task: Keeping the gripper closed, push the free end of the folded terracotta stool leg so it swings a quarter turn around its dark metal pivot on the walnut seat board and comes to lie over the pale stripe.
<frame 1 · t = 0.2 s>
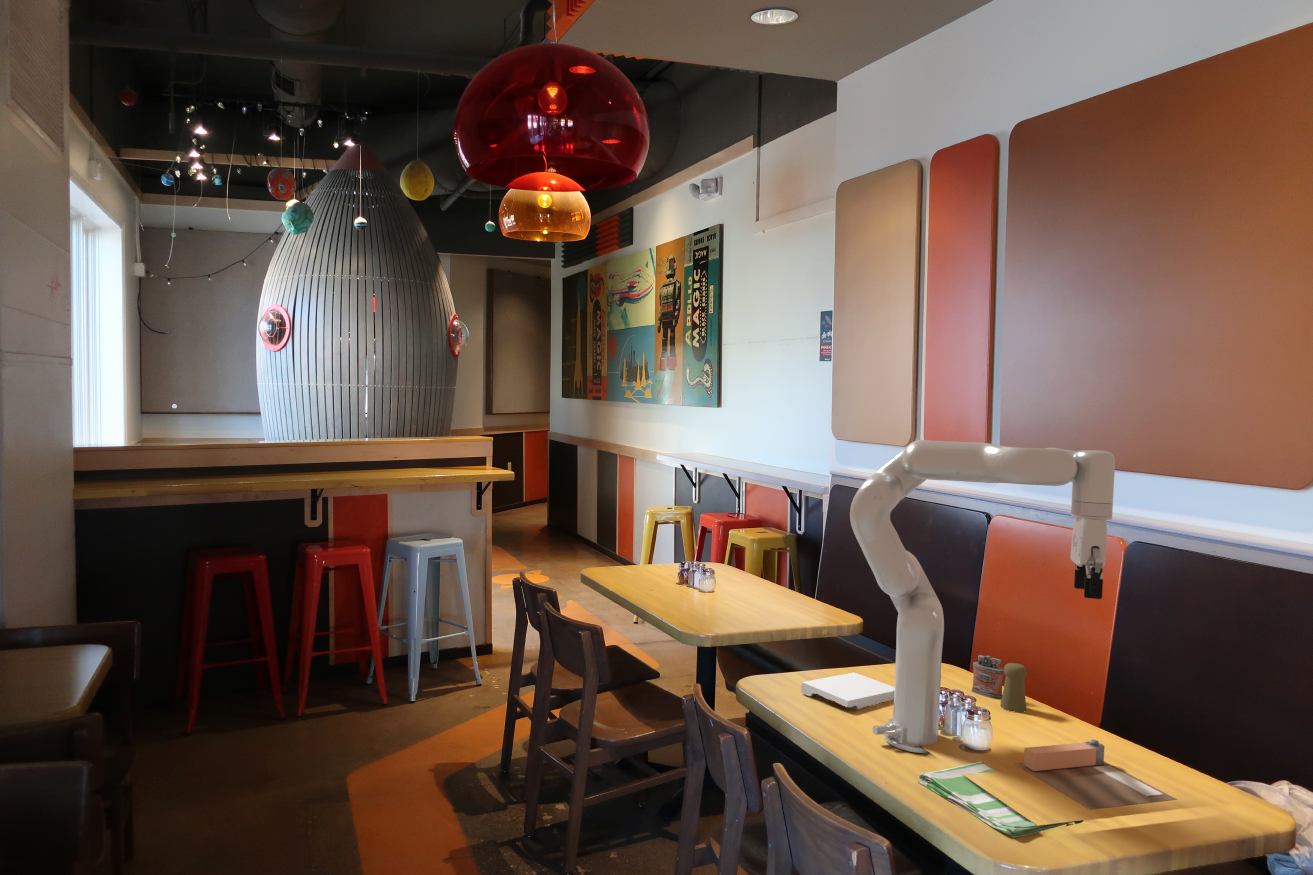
hand: (1087, 593, 173), 36 cm above the table, tool pointing down, fingers open, 9 cm apart
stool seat: (1091, 788, 164), on the table
lighter: (986, 695, 219), on the table
white flat block: (850, 699, 213), on the table
folding leg: (1065, 753, 171), point 4 cm above the table, hinge at 0.0°
dish towel: (995, 805, 157), on the table
olive pepper mill: (1013, 708, 209), on the table
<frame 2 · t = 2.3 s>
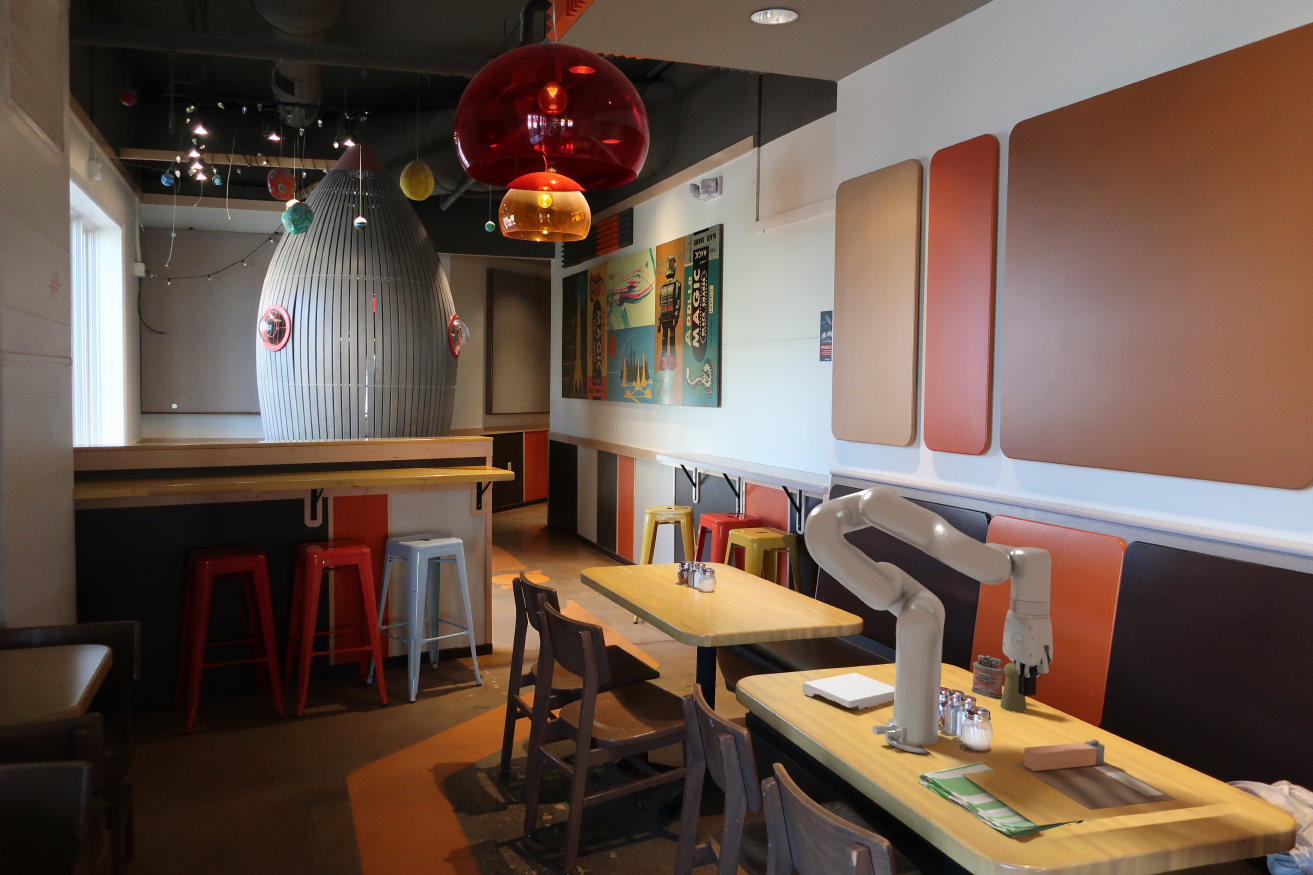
hand: (1026, 694, 176), 14 cm above the table, tool pointing down, fingers closed
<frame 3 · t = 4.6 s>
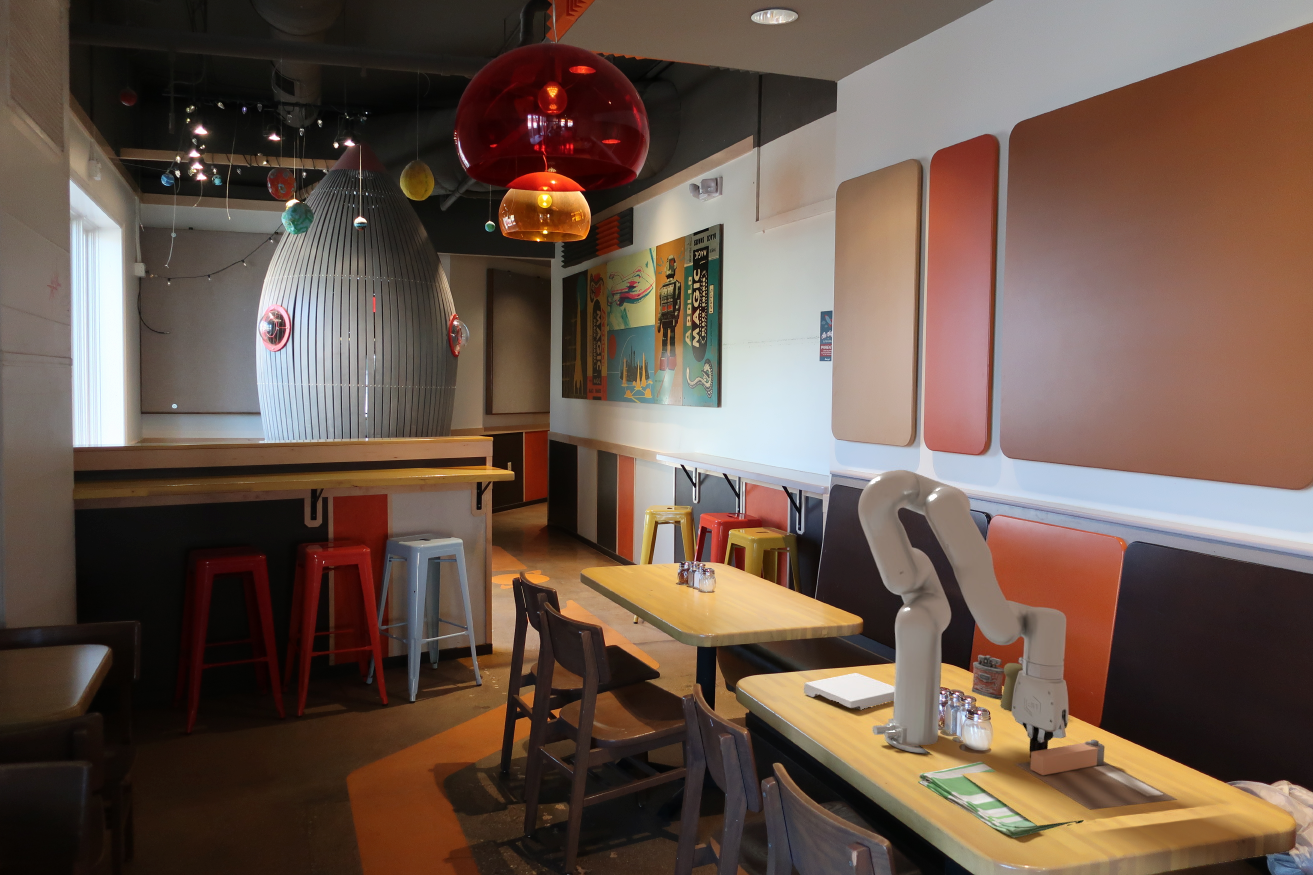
hand: (1038, 758, 172), 3 cm above the table, tool pointing down, fingers closed
folding leg: (1069, 755, 170), point 4 cm above the table, hinge at 7.3°, touching gripper
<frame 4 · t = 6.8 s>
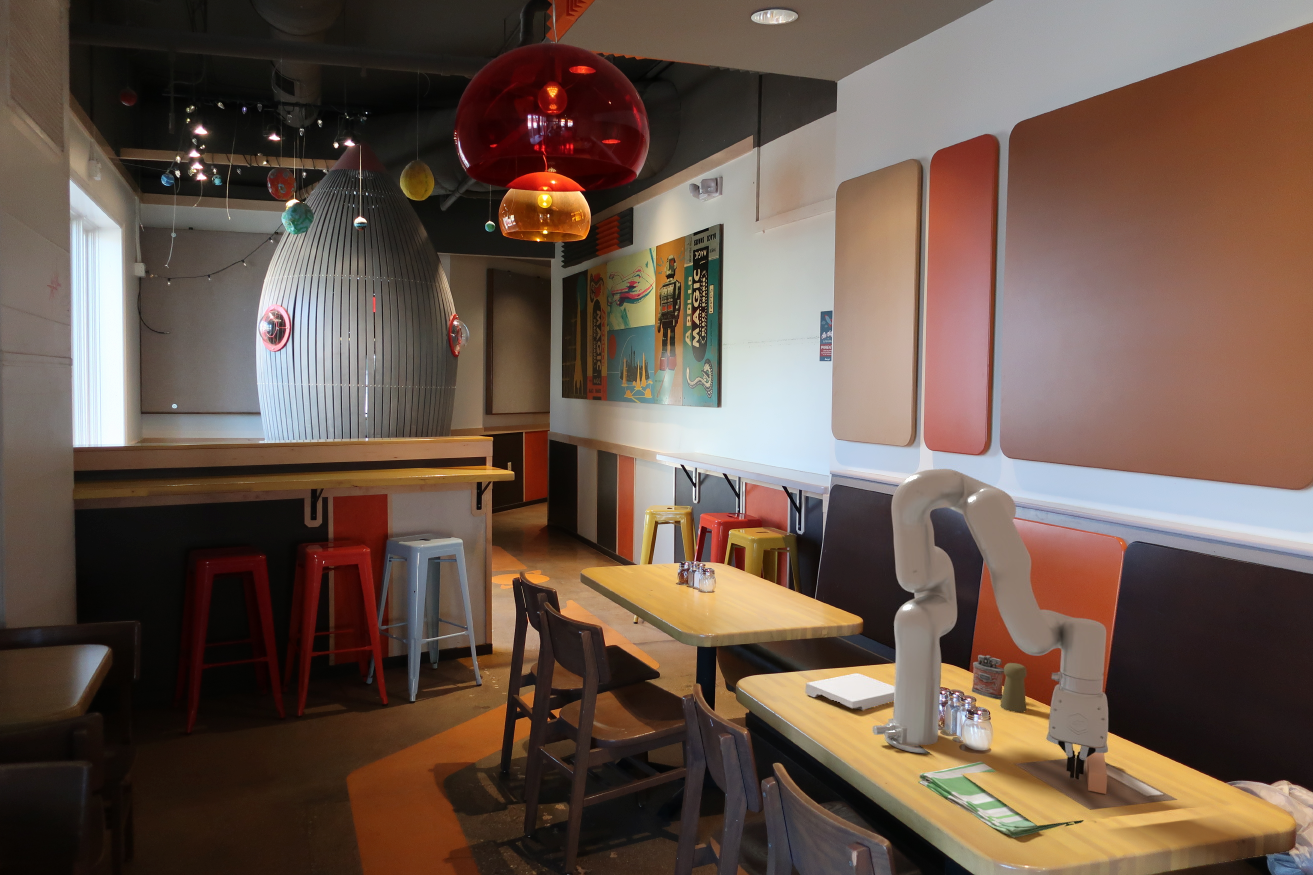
hand: (1074, 775, 164), 2 cm above the table, tool pointing down, fingers closed
folding leg: (1095, 763, 167), point 4 cm above the table, hinge at 48.4°, touching gripper
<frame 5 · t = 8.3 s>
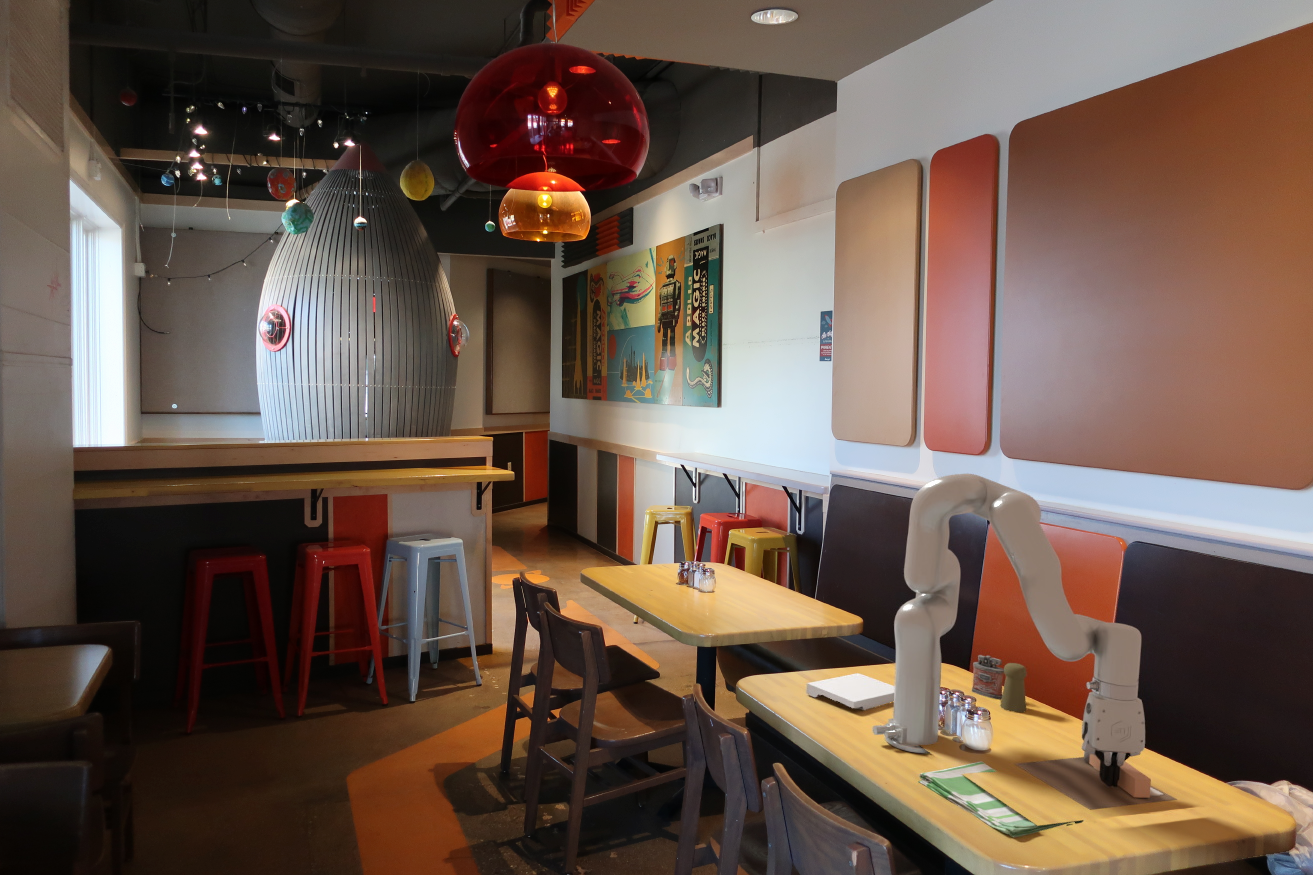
hand: (1108, 783, 161), 2 cm above the table, tool pointing down, fingers closed
folding leg: (1114, 765, 166), point 4 cm above the table, hinge at 76.4°, touching gripper
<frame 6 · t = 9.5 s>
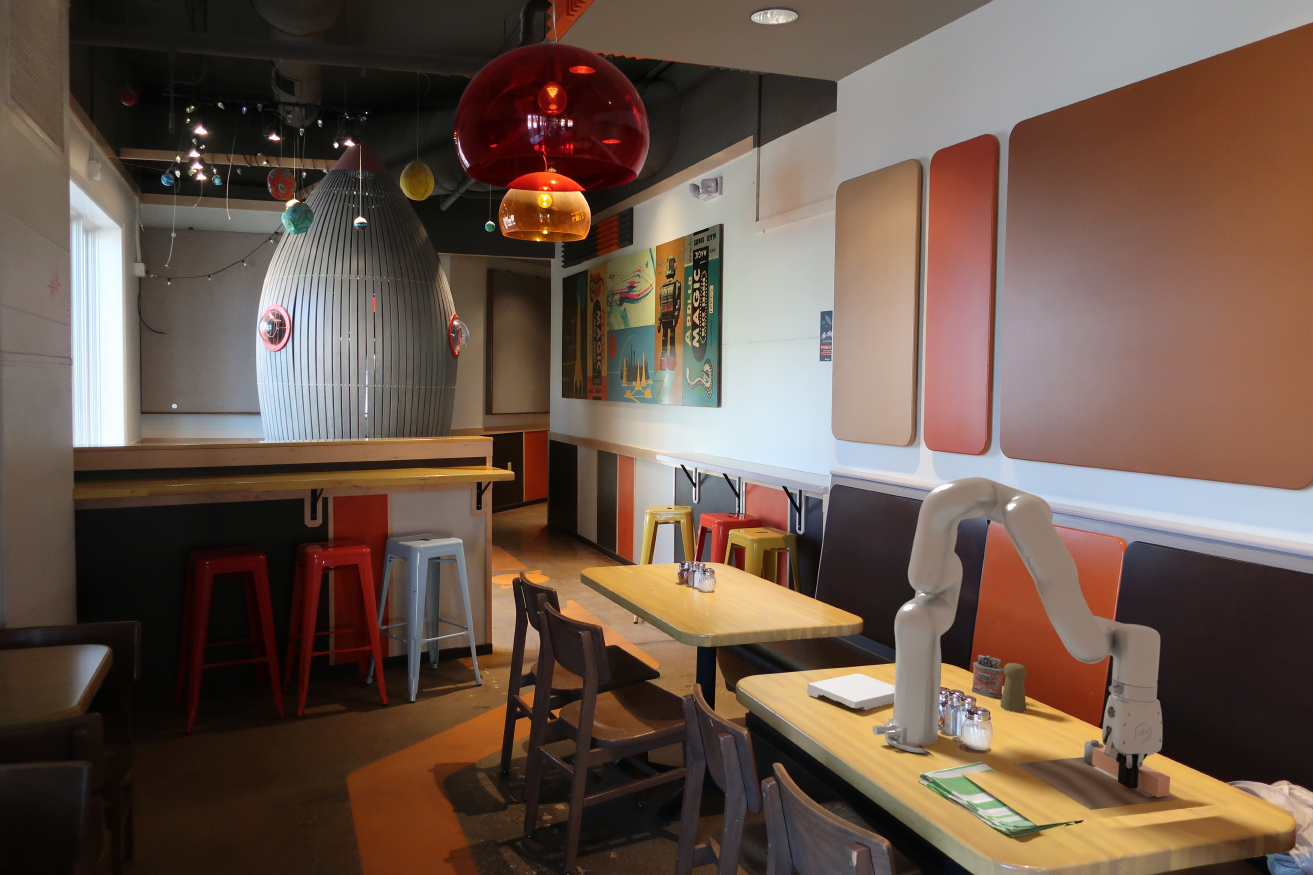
hand: (1127, 785, 161), 2 cm above the table, tool pointing down, fingers closed
folding leg: (1123, 765, 166), point 4 cm above the table, hinge at 92.7°, touching gripper
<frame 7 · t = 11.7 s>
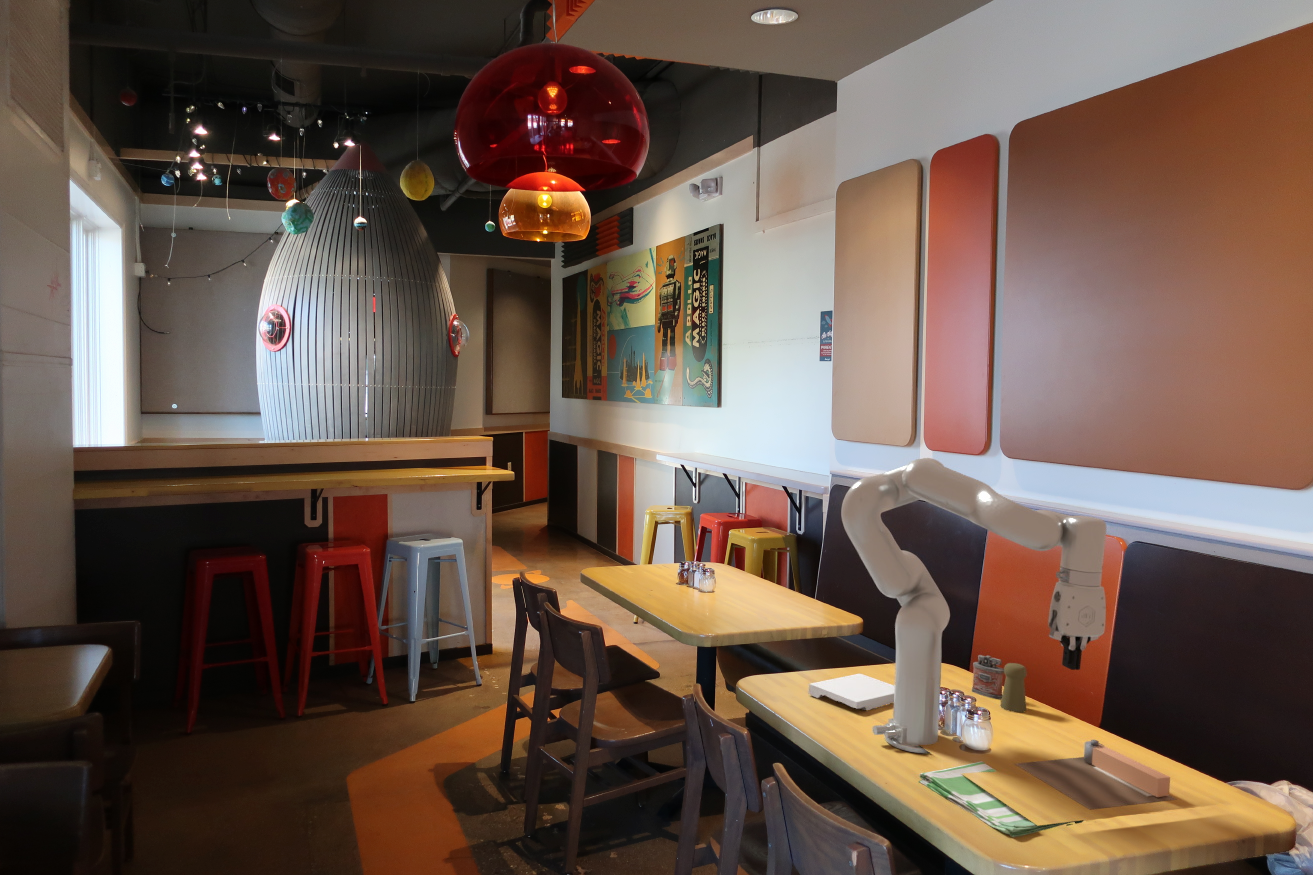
hand: (1070, 667, 169), 22 cm above the table, tool pointing down, fingers closed
folding leg: (1123, 765, 166), point 4 cm above the table, hinge at 92.7°
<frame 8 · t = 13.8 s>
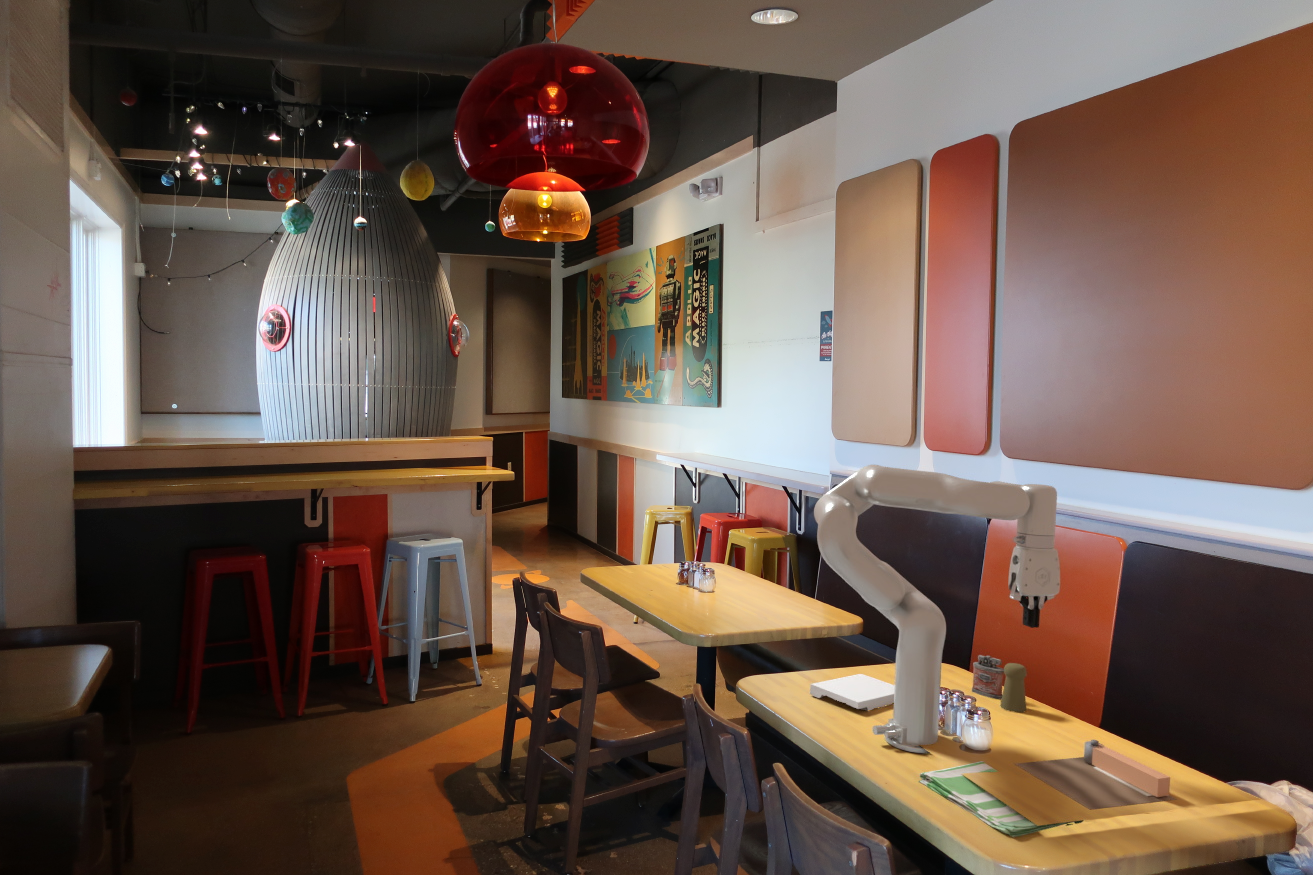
hand: (1030, 625, 182), 27 cm above the table, tool pointing down, fingers closed
at the end: folding leg at +93° (first picture: +0°) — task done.
